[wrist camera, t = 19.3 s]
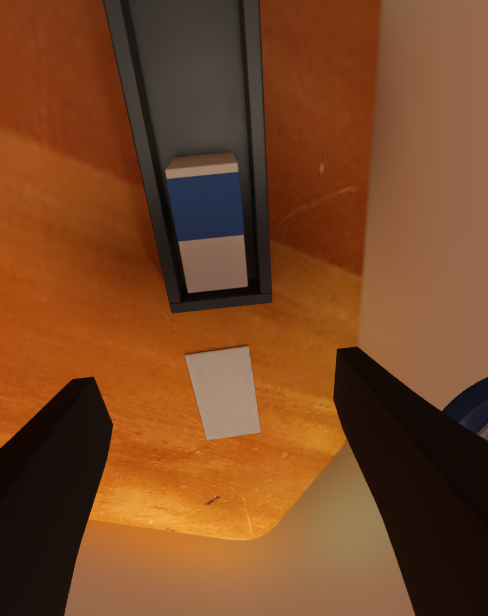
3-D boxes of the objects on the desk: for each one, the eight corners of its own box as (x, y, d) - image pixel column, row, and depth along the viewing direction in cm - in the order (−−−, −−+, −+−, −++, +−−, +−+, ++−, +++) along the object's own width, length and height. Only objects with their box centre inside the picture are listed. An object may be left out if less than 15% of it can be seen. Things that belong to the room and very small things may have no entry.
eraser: (242, 256, 18) (248, 287, 15) (191, 261, 18) (186, 293, 15) (233, 151, 15) (238, 162, 12) (173, 157, 15) (163, 169, 12)
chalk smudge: (260, 431, 25) (260, 432, 25) (207, 439, 25) (207, 440, 25) (248, 345, 21) (248, 346, 21) (184, 354, 21) (184, 355, 21)
